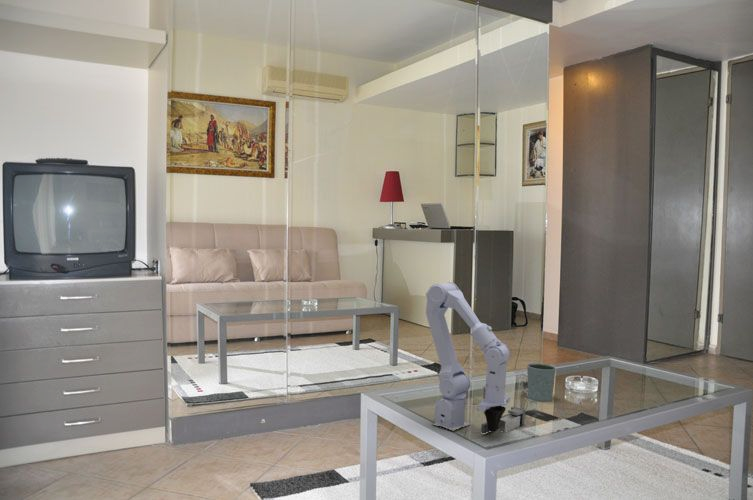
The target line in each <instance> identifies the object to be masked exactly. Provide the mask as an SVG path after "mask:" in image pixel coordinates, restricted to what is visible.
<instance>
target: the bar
mask: <svg viewBox="0 0 753 500" xmlns="http://www.w3.org/2000/svg"><path fill="white" fill-rule="evenodd" d="M520 426H521V425H520V415H513V414H511V415H509V416H506V417H504V418H501V419H500V422H499V425H498V429H497V431H498V430H499V431H498V432H500V431H503V432H502V433H504V432H506V431H508V432H510V431H513V430H515V429H517V428H520ZM509 430H510V431H509ZM506 433H507V432H506Z"/></svg>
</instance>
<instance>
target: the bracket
mask: <svg viewBox="0 0 753 500" xmlns="http://www.w3.org/2000/svg"><path fill="white" fill-rule="evenodd" d="M525 411H526V409H523V408H519V407H516V406H512V407H510V409H508V410H507V414H505V415H504V414H503V415H502V417H501V418H504V417H506V416H509V415H511V414H513V415H520V426H525V419H526V414H525ZM497 430H498V428H497ZM489 431H490V430H488V425H487V421H486V422H484V423H481V429H480V433H481V432H482V433H486V432H489Z"/></svg>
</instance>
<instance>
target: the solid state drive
mask: <svg viewBox="0 0 753 500" xmlns="http://www.w3.org/2000/svg"><path fill="white" fill-rule="evenodd" d="M525 416H529V417H532V418H535V419H538V420H540V421H543V422H550V421H553V420H557V419H559V417H558V416H555V415H553V414H551V413H547V412H545V411H544V412H543V411H540V410H538V409H535V408H534V409H529V410H525Z"/></svg>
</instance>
